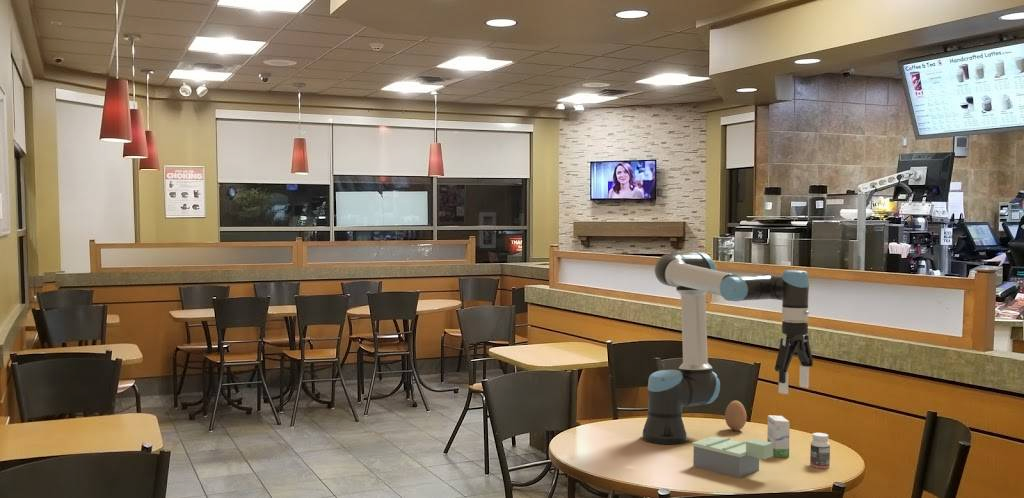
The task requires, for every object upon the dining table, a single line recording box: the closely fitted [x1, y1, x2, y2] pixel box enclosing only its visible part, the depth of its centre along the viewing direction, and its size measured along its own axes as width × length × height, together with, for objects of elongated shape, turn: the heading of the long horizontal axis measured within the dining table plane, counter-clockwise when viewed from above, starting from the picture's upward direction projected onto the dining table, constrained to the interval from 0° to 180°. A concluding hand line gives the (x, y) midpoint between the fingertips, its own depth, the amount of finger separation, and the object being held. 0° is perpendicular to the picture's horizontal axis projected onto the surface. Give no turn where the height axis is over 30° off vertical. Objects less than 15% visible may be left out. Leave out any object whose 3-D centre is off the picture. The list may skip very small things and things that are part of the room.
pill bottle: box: [809, 432, 831, 469], centre depth 264 cm, size 6×6×10 cm
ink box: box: [766, 414, 791, 458], centre depth 278 cm, size 8×5×12 cm, turn 0°
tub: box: [692, 446, 760, 479], centre depth 259 cm, size 16×11×7 cm
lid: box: [691, 435, 774, 460], centre depth 256 cm, size 23×12×4 cm, turn 43°
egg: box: [724, 400, 747, 432], centre depth 308 cm, size 8×8×11 cm
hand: (793, 390), depth 260 cm, fingers open, 13 cm apart
